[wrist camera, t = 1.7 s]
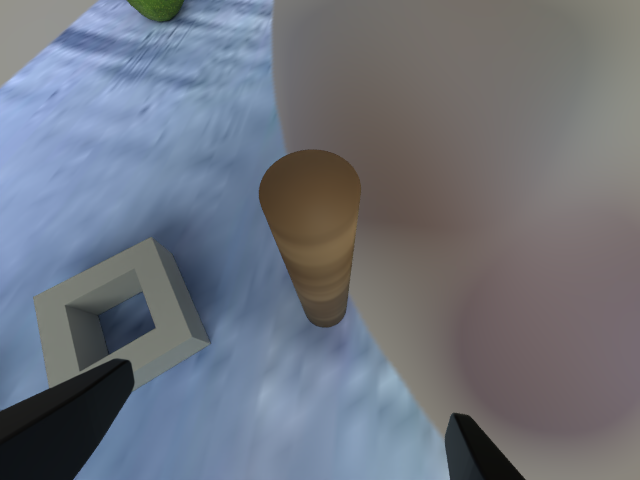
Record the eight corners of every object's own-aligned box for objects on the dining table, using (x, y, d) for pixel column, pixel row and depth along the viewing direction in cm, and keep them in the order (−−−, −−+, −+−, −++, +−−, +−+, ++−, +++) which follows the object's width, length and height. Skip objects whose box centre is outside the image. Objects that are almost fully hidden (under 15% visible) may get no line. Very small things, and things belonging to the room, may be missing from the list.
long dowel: (354, 312, 21) (381, 200, 9) (318, 336, 20) (290, 253, 8) (331, 278, 22) (325, 135, 10) (296, 299, 22) (241, 177, 9)
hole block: (211, 343, 21) (192, 337, 18) (94, 414, 19) (54, 418, 16) (172, 254, 24) (151, 236, 21) (69, 308, 22) (33, 297, 20)
